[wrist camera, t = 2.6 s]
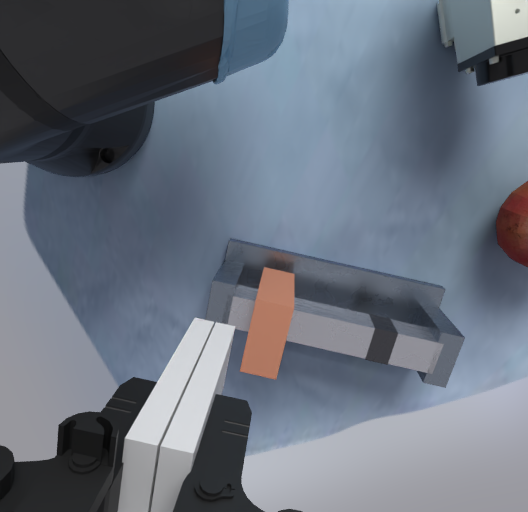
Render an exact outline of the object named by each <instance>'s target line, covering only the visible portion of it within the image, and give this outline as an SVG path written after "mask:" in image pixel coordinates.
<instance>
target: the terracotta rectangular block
mask: <svg viewBox="0 0 528 512" xmlns="http://www.w3.org/2000/svg"><path fill="white" fill-rule="evenodd" d="M294 276H295V274H293V273H288V272H284V271H280V270H275V269H271V268H266V267H264V269H263V273H262V277H261V281H260V285H259V289H258V293H257V297H256V301H255V305H254V310H253V314H252V319H251V323H250V328H249V332H248V337H247V341H246V346H245V350H244V355H243V359H242V364H241V368H240V371H241V372H245V373H249V374H254V375H258V376H262V377H267V378H271V379H275V380H276V378H277V374H278V370H279V366H280V362H281V358H282V354H283V350H284V346H285V342H286V339H287V335H288V331H289V327H290V323H291V319H292V315H293V311H294Z"/></svg>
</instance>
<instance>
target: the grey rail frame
mask: <svg viewBox="0 0 528 512" xmlns="http://www.w3.org/2000/svg"><path fill="white" fill-rule="evenodd" d="M264 267H266V268H271V269H275V270H280V271H284V272H288V273H293V274H295V276H294V311H293V315H292V319H291V323H290V327H289V331H288V335H287V339H286V341H290V342H294V343H299V344H303V345H307V346H312V347H316V348H321V349H325V350H329V351H334V352H338V353H342V354H347V355H351V356H355V357H360V358H364V359H365V360H369V361H374V362H378V363H383V364H387V365H388V364H390V365H395V366H399V367H404V368H408V369H412V370H417V372H418V374H419V376H420V377H421V379H422V381H423V383H427V384H432V385H436V386H440V387H445V388H446V385H447V382H448V380H449V377H450V375H451V372H452V370H453V367H454V364H455V362H456V359H457V357H458V354H459V352H460V349H461V347H462V344H463V341H464V339H465V337H464V336H463V335H462V334H461V333H460V331H459V330H458V329H457V328H456V327H455V326H454V325H453V323H452V322H451V321H450V320H449V319H448V318H447V316H446V315H445V314H444V313H443V312H442V311H441V310H440V308H439V306H440V304H441V301H442V298H443V295H444V293H445V289H444V288H443V287H442V286H439V285H435V284H430V283H426V282H421V281H417V280H412V279H408V278H404V277H399V276H395V275H390V274H386V273H381V272H377V271H372V270H368V269H364V268H359V267H355V266H350V265H346V264H341V263H337V262H333V261H328V260H324V259H319V258H315V257H310V256H306V255H302V254H297V253H293V252H288V251H284V250H279V249H275V248H271V247H266V246H262V245H257V244H253V243H248V242H244V241H240V240H235V239H230V240H229V243H228V248H227V254H226V259H225V261H224V263H223V264H222V266H221V268H220V269H219V271H218V273H217V274H216V276H215V277H214V279H213V282H212V287H211V292H210V298H209V303H208V308H207V314H206V319H205V320H208V321H213V322H214V326H215V323H216V322H217V323H222V324H227V325H231V326H235V329H238V330H242V331H246V332H249V328H250V323H251V319H252V314H253V310H254V305H255V301H256V297H257V293H258V289H259V285H260V281H261V277H262V273H263V269H264ZM214 326H213V328H214Z"/></svg>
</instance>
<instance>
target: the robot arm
mask: <svg viewBox="0 0 528 512" xmlns="http://www.w3.org/2000/svg"><path fill="white" fill-rule="evenodd" d="M288 4H289V1H288V0H0V163H9V162H10V163H11V162H23V161H25V162H27V163H30V164H32V165H34V166H36V167H38V168H41V169H43V170H45V171H48V172H51V173H54V174H58V175H63V176H71V177H84V176H91V175H97V174H102V173H106V172H109V171H111V170H114V169H116V168H118V167H119V166H121V165H123V164H124V163H125V162H127V161H128V160H129V159H130V158H131V157H132V156H133V155H134V154H135V153H136V152H137V151H138V150H139V148H140V147H141V145H142V144H143V142H144V140H145V138H146V136H147V134H148V132H149V129H150V126H151V123H152V118H153V113H154V101H157V100H160V99H163V98H166V97H168V96H171V95H174V94H177V93H180V92H183V91H185V90H188V89H191V88H194V87H197V86H200V85H202V84H205V83H208V82H211V81H213V83H214V84H219V83H221V82H223V81H224V80H225V78H226V76H228V75H231V74H233V73H236V72H238V71H240V70H243V69H245V68H248V67H250V66H253V65H255V64H258V63H260V62H263V61H265V60H267V59H268V58H269V57H271V56H272V55H273V54H274V53H275V52H276V51H277V49H278V48H279V46H280V44H281V43H282V41H283V38H284V35H285V32H286V28H287V21H288ZM213 326H214V322H213V321H208V320H203V319H199V318H194V320H193V322H192V323H191V325H190V327H189V329H188V330H187V332H186V334H185V335H184V337H183V339H182V341H181V342H180V344H179V346H178V347H177V349H176V351H175V353H174V354H173V356H172V358H171V360H170V361H169V363H168V365H167V366H166V368H165V370H164V372H163V373H162V375H161V377H160V378H159V380H158V382H154V381H149V380H145V379H140V378H135V377H133V378H131V379H130V380H128V381H127V382H125V383H123V384H122V385H120V386H119V388H118V389H117V391H116V392H115V394H114V395H113V396H112V399H110V400H109V402H108V403H107V404H106V407H105V408H104V409H103V410H102V411H101V412H85V413H78V414H76V415H73V416H71V417H69V418H67V419H65V420H64V421H63V422H62V423H61V424H59V429H58V444H57V456H56V457H55V458H52V459H49V460H42V461H30V462H28V461H27V462H14V457H13V453H12V452H11V451H10V450H9V449H8V448H6V447H4V446H0V512H264V511H263V510H261V509H259V508H258V507H257V506H255V505H254V504H253V503H252V502H251V501H250V500H249V499H248V498H247V496H246V494H245V493H244V491H243V488H242V484H241V476H242V470H243V464H244V457H245V451H246V445H247V439H248V433H249V427H250V421H251V415H252V412H251V410H250V407H249V405H248V402H247V401H246V400H241V399H237V398H232V397H227V396H223V395H221V394H222V391H223V388H224V383H225V377H226V372H227V367H228V362H229V357H230V352H231V347H232V342H233V337H234V332H235V326H231V325H227V324H222V323H217V322H216V323H215V326H214V328H213ZM278 512H302V511H297V510H293V509H286V510H281V511H278Z"/></svg>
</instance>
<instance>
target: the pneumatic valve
mask: <svg viewBox="0 0 528 512" xmlns="http://www.w3.org/2000/svg"><path fill="white" fill-rule="evenodd" d="M437 10H438V17H439V25H440V33H441V40H442V44H444V45H445V47H449V46H452V45H453V44H452V42H453V41H454V45H455V51H456V56H457V64H458V72H461V71H465V70H466V74H469V73H472V72H474V68H475V72H476V81H477V86H482V85H486V84H490V83H494V82H497V81H501V80H505V79H509V78H512V77H516V76H520V75H523V74H527V73H528V0H439V3H438V4H437Z"/></svg>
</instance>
